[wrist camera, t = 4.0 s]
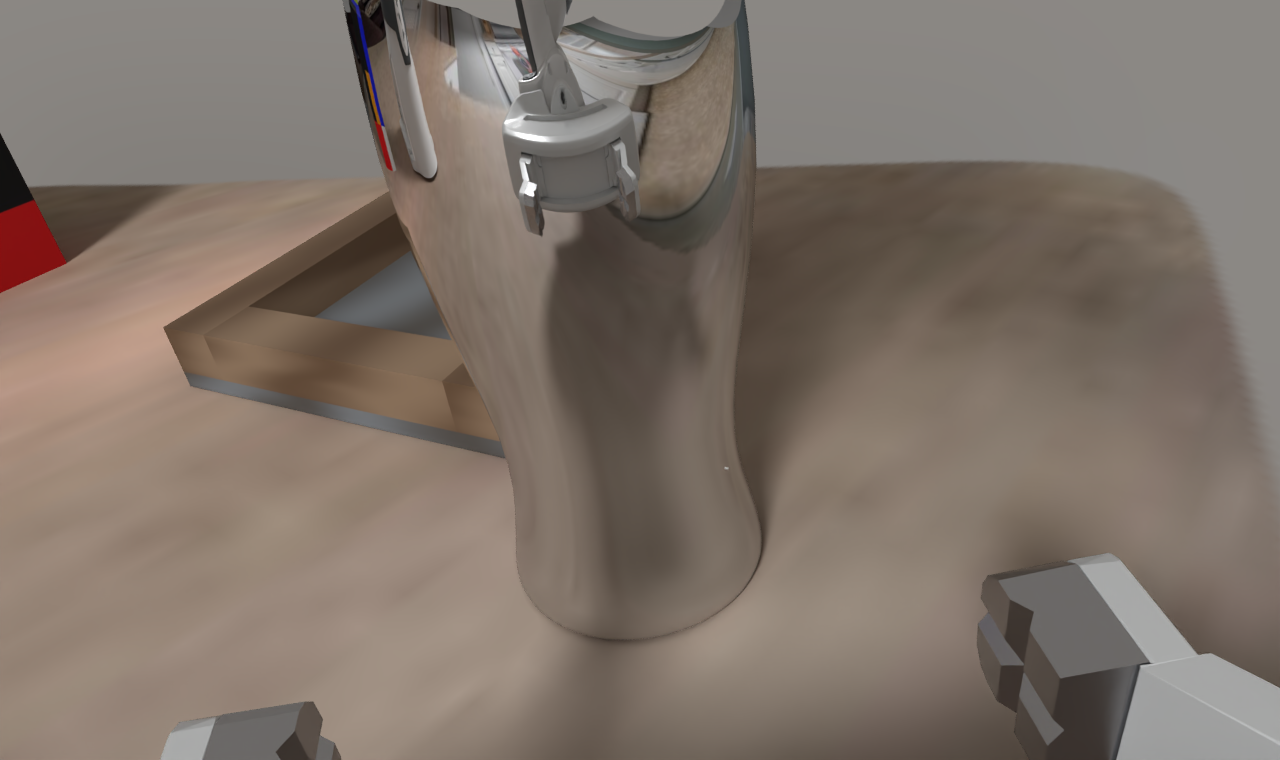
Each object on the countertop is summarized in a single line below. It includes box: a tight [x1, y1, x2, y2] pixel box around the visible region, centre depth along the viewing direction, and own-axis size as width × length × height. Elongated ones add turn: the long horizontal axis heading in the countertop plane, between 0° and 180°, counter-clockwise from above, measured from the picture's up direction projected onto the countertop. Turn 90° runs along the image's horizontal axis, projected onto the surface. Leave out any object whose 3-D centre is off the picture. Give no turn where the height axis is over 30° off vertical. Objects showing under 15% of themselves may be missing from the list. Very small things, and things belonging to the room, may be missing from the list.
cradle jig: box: [163, 192, 505, 458], centre depth 34 cm, size 14×14×2 cm
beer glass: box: [342, 0, 762, 640], centre depth 19 cm, size 7×7×15 cm
